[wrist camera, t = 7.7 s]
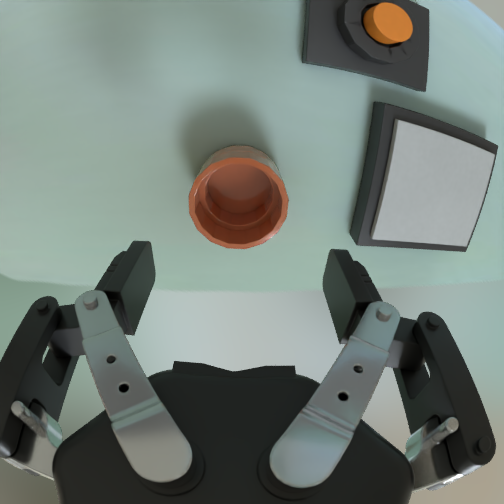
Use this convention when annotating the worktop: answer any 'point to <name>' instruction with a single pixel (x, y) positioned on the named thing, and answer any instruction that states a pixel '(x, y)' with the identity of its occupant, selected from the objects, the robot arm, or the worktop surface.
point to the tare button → (387, 23)
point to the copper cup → (238, 198)
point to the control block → (366, 42)
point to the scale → (421, 182)
